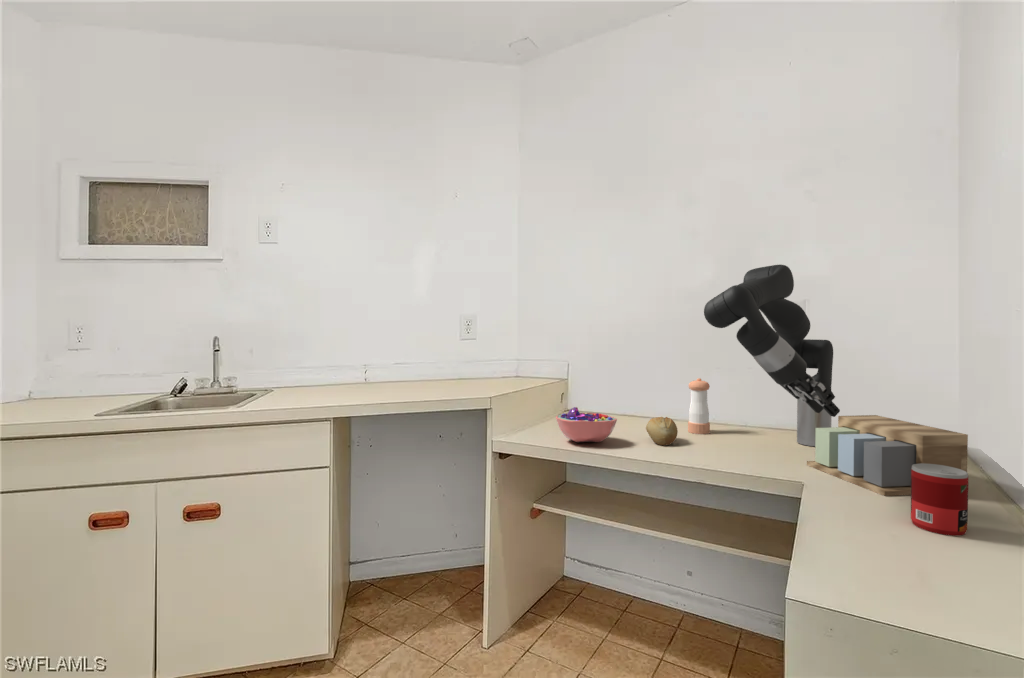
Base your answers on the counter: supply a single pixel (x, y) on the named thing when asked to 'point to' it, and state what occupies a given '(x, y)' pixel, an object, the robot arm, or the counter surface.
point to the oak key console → (928, 441)
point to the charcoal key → (889, 462)
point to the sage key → (829, 444)
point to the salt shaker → (699, 408)
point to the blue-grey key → (854, 452)
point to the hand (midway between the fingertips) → (827, 411)
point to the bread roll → (662, 430)
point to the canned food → (939, 499)
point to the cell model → (585, 426)
